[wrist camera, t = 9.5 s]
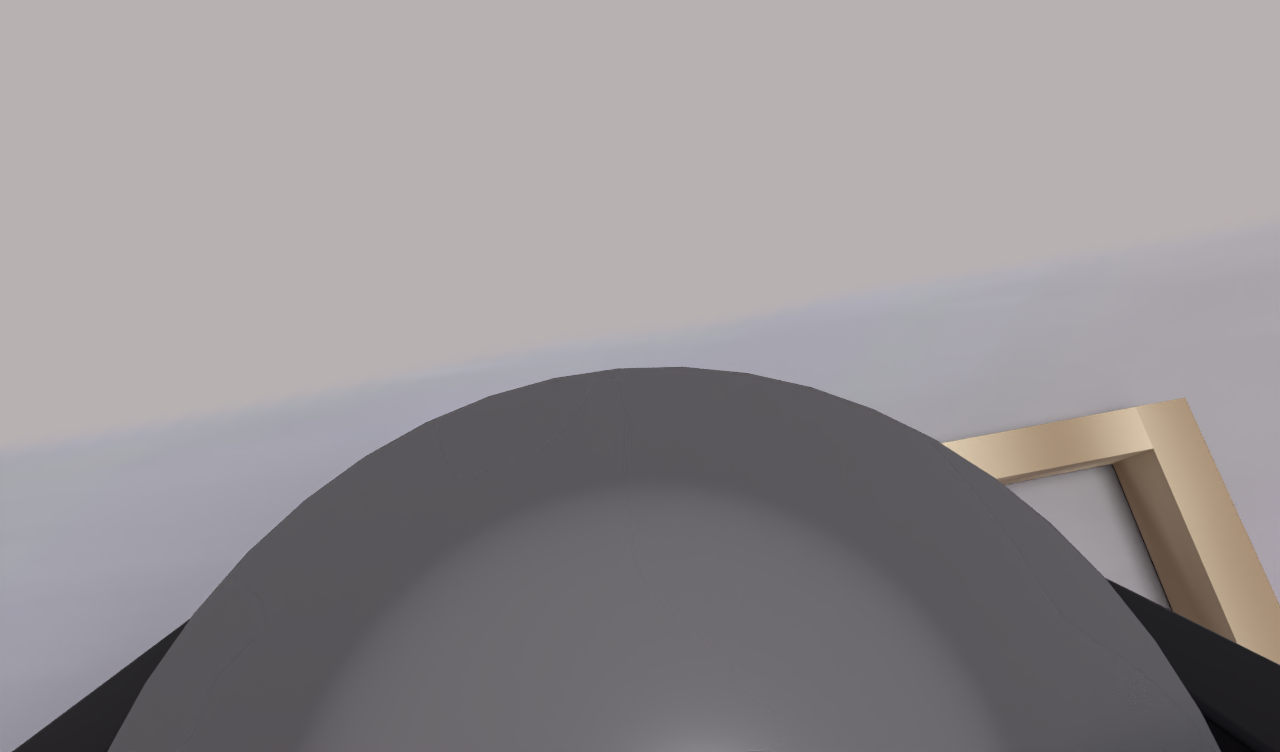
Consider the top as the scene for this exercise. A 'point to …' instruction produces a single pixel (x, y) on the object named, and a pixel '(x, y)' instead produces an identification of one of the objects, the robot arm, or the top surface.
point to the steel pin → (664, 594)
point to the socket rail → (1157, 508)
